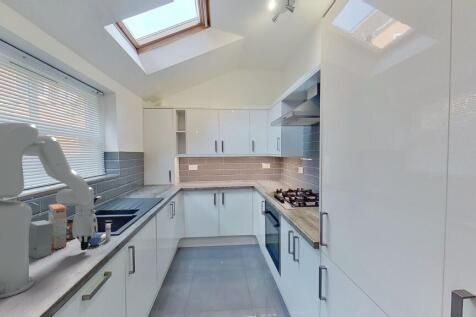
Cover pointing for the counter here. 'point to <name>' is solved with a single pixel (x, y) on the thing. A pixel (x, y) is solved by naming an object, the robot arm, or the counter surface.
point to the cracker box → (58, 225)
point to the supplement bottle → (69, 229)
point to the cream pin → (103, 236)
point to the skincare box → (40, 238)
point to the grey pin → (108, 232)
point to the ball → (95, 240)
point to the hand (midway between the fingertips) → (84, 249)
